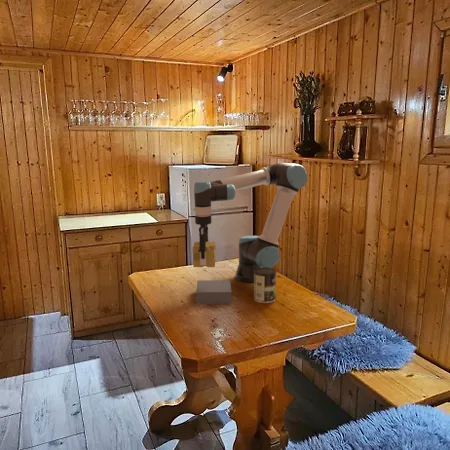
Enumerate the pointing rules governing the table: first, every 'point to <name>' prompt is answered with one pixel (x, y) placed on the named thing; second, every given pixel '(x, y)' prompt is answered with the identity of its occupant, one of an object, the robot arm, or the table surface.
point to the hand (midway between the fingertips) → (204, 261)
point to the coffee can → (264, 285)
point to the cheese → (209, 254)
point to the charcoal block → (213, 292)
